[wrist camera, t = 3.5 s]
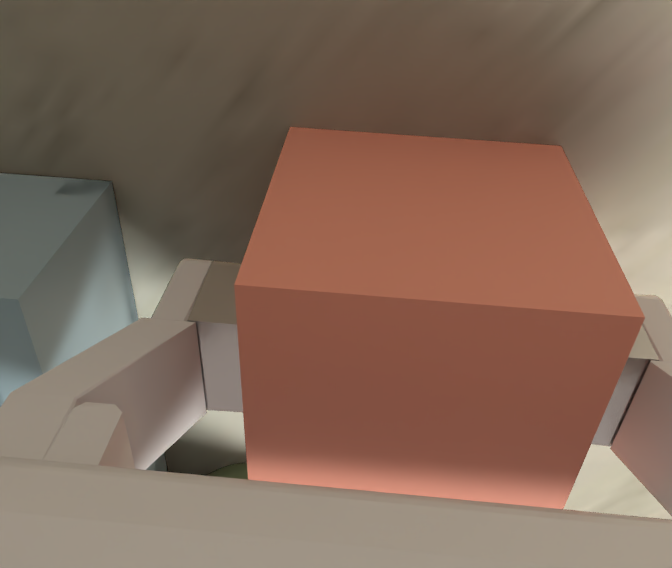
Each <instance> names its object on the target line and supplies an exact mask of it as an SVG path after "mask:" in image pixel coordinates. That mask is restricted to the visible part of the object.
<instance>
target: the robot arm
mask: <svg viewBox="0 0 672 568" xmlns="http://www.w3.org/2000/svg"><path fill="white" fill-rule="evenodd" d="M241 264H242V263H233V262H223V261H212V260H201V259H188V258H185V259H183V260H181V261H180V262H179V264H178V266H177V268H176V270H175V272H174V274H173V276H172V278H171V280H170V282H169V283H168V285H167V287H166V289H165V291H164V293H163V295H162V297H161V299H160V301H159V303H158V305H157V307H156V309H155V311H154V313H153V315H152V317H151V318H141V319H139V320H137V321H135V322H134V323H132V324H130V325H128V326H127V327H125V328H123V329H121V330H120V331H118V332H116V333H114V334H113V335H111V336H109V337H107V338H106V339H104V340H102V341H100V342H98V343H97V344H95V345H93V346H91V347H90V348H88V349H86V350H84V351H83V352H81V353H79V354H77V355H76V356H74V357H72V358H70V359H69V360H67V361H65V362H63V363H62V364H60V365H58V366H56V367H55V368H53V369H51V370H49V371H47V372H46V373H44V374H42V375H40V376H39V377H37V378H35V379H33V380H32V381H30V382H28V383H26V384H25V385H23V386H21V387H19V388H18V389H16V390H14V391H12V392H11V393H10V394H9V396H8V397H7V398H6V400H5V401H4V403H3V404H2V406H1V407H0V568H672V520H669V519H658V518H648V517H638V516H627V515H617V514H607V513H596V512H586V511H576V510H565V509H555V508H545V507H534V506H524V505H514V504H503V503H492V502H482V501H471V500H460V499H450V498H439V497H428V496H418V495H407V494H396V493H386V492H375V491H364V490H354V489H343V488H332V487H322V486H311V485H300V484H290V483H279V482H268V481H258V480H247V479H237V478H226V477H216V476H205V475H194V474H184V473H173V472H163V471H152V470H146V469H147V468H148V467H149V466H150V465H151V464H152V463H153V462H154V461H155V460H157V459H158V458H159V457H160V456H161V455H162V454H163V453H164V452H165V451H166V450H167V449H168V448H169V447H170V446H171V445H173V444H174V443H175V442H176V441H177V440H178V439H179V438H180V437H181V436H182V435H183V434H184V433H185V432H186V431H188V430H189V429H190V428H191V427H192V426H193V425H194V424H195V423H196V422H197V421H198V420H199V419H200V418H201V417H203V416H204V415H205V414H206V410H217V411H233V412H243V402H242V388H241V374H240V360H239V346H238V332H237V318H236V304H235V290H234V284H235V281H236V278H237V275H238V272H239V269H240V267H241ZM634 296H635V298H636V300H637V302H638V304H639V306H640V308H641V310H642V312H643V314H644V316H645V319H644V322H643V324H642V326H641V329H640V331H639V333H638V336H637V338H636V340H635V343H634V345H633V347H632V350H631V352H630V354H629V357H628V359H627V361H626V364H625V366H624V368H623V371H622V373H621V375H620V378H619V380H618V382H617V385H616V387H615V389H614V392H613V394H612V396H611V399H610V401H609V403H608V406H607V408H606V410H605V413H604V415H603V417H602V420H601V422H600V424H599V427H598V429H597V431H596V434H595V436H594V438H593V441H592V443H591V444H595V445H604V446H611V448H610V449H611V450H612V451H613V452H614V453H615V454H616V456H617V457H618V458H619V459H620V460H621V461H622V462H623V463H624V464H625V465H626V466H627V468H628V469H629V470H630V471H631V472H632V473H633V474H634V475H635V476H636V477H637V479H638V480H639V481H640V482H641V483H642V484H643V485H644V486H645V487H646V488H647V490H648V491H649V492H650V493H651V494H652V495H653V496H654V497H655V498H656V499H657V500H658V502H659V503H660V504H661V505H662V506H663V507H664V508H665V509H666V510H667V511H668V513H669V514H670V515H671V516H672V317H671V315H670V313H669V311H668V309H667V308H666V306H665V304H664V302H663V300H662V299H661V298H659V297H658V296H656V295H637V294H634Z"/></svg>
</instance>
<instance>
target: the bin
mask: <svg viewBox="0 0 672 568" xmlns="http://www.w3.org/2000/svg"><path fill="white" fill-rule="evenodd" d="M137 320H138V315H137V310H136V305H135V299H134V294H133V289H132V284H131V279H130V273H129V268H128V263H127V258H126V253H125V247H124V242H123V237H122V232H121V227H120V221H119V216H118V211H117V206H116V201H115V196H114V190H113V185H112V181H101V180H87V179H74V178H60V177H47V176H33V175H20V174H6V173H0V407H1V406H2V404H3V403H4V401H5V400H6V398H7V397H8V396H9V394H10V393H11V392H12V391H14V390H16V389H18V388H19V387H21V386H23V385H25V384H26V383H28V382H30V381H32V380H33V379H35V378H37V377H39V376H40V375H42V374H44V373H46V372H47V371H49V370H51V369H53V368H55V367H56V366H58V365H60V364H62V363H63V362H65V361H67V360H69V359H70V358H72V357H74V356H76V355H77V354H79V353H81V352H83V351H84V350H86V349H88V348H90V347H91V346H93V345H95V344H97V343H98V342H100V341H102V340H104V339H106V338H107V337H109V336H111V335H113V334H114V333H116V332H118V331H120V330H121V329H123V328H125V327H127V326H128V325H130V324H132V323H134V322H135V321H137ZM146 470H152V471H163V472H168V471H167V465H166V460H165V455H164V453H163V454H162V455H161V456H160V457H159V458H158V459H157V460H155V461H154V462H153V463H152V464H151V465H150V466H149V467H148V468H147V469H146Z"/></svg>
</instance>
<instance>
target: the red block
mask: <svg viewBox="0 0 672 568" xmlns="http://www.w3.org/2000/svg"><path fill="white" fill-rule="evenodd" d="M234 290H235V304H236V318H237V332H238V346H239V360H240V374H241V388H242V402H243V416H244V430H245V444H246V458H247V472H248V480H258V481H268V482H279V483H290V484H300V485H311V486H322V487H332V488H343V489H354V490H364V491H375V492H386V493H396V494H407V495H418V496H428V497H439V498H450V499H460V500H471V501H482V502H492V503H503V504H514V505H524V506H534V507H545V508H555V509H563V508H564V506H565V504H566V501H567V499H568V497H569V494H570V492H571V490H572V487H573V485H574V483H575V480H576V478H577V476H578V473H579V471H580V469H581V466H582V464H583V462H584V459H585V457H586V455H587V452H588V450H589V448H590V445H591V443H592V441H593V438H594V436H595V434H596V431H597V429H598V427H599V424H600V422H601V420H602V417H603V415H604V413H605V410H606V408H607V406H608V403H609V401H610V399H611V396H612V394H613V392H614V389H615V387H616V385H617V382H618V380H619V378H620V375H621V373H622V371H623V368H624V366H625V364H626V361H627V359H628V357H629V354H630V352H631V350H632V347H633V345H634V343H635V340H636V338H637V336H638V333H639V331H640V329H641V326H642V324H643V322H644V319H645V316H644V314H643V312H642V310H641V308H640V306H639V304H638V302H637V300H636V298H635V296H634V294H633V292H632V289H631V287H630V285H629V283H628V281H627V279H626V277H625V275H624V273H623V271H622V269H621V267H620V265H619V263H618V261H617V259H616V257H615V255H614V253H613V251H612V249H611V247H610V245H609V243H608V241H607V238H606V236H605V234H604V232H603V230H602V228H601V226H600V224H599V222H598V220H597V218H596V216H595V214H594V212H593V210H592V208H591V206H590V204H589V202H588V200H587V198H586V196H585V194H584V192H583V190H582V187H581V185H580V183H579V181H578V179H577V177H576V175H575V173H574V171H573V169H572V167H571V165H570V163H569V161H568V159H567V157H566V155H565V153H564V151H563V149H562V147H561V146H556V145H542V144H528V143H513V142H499V141H485V140H471V139H456V138H442V137H428V136H413V135H399V134H385V133H370V132H356V131H342V130H327V129H313V128H299V127H290V128H289V131H288V134H287V137H286V139H285V142H284V145H283V148H282V151H281V154H280V156H279V159H278V162H277V165H276V168H275V170H274V173H273V176H272V179H271V182H270V185H269V187H268V190H267V193H266V196H265V199H264V202H263V204H262V207H261V210H260V213H259V216H258V219H257V221H256V224H255V227H254V230H253V233H252V236H251V238H250V241H249V244H248V247H247V250H246V252H245V255H244V258H243V261H242V264H241V267H240V269H239V272H238V275H237V278H236V281H235V284H234Z"/></svg>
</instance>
